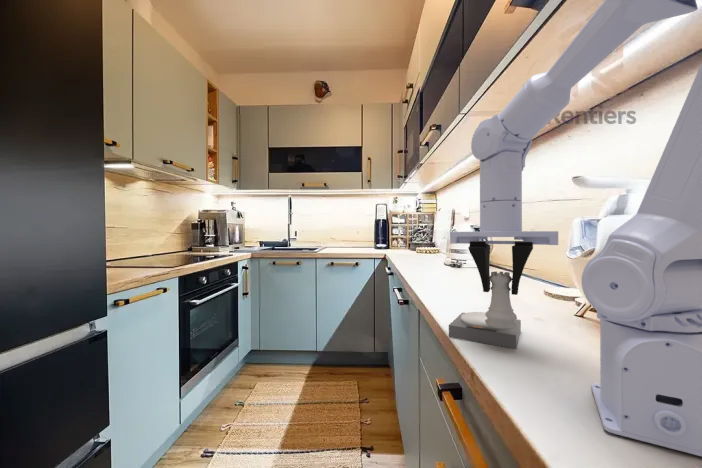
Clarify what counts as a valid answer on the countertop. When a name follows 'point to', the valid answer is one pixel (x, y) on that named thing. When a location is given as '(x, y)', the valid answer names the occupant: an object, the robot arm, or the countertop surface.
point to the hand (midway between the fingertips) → (500, 292)
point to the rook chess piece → (500, 303)
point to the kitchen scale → (483, 330)
